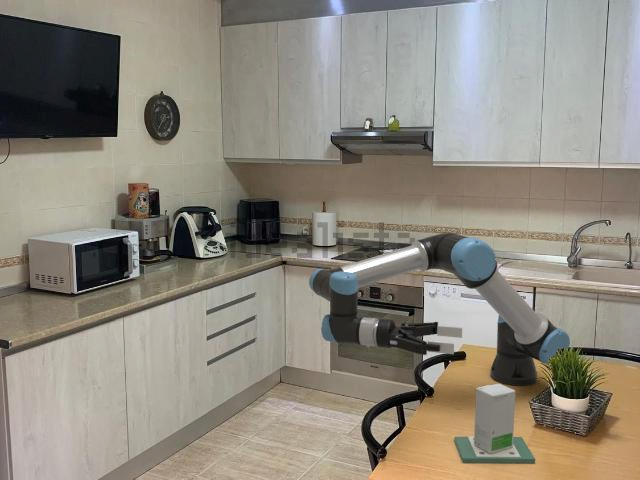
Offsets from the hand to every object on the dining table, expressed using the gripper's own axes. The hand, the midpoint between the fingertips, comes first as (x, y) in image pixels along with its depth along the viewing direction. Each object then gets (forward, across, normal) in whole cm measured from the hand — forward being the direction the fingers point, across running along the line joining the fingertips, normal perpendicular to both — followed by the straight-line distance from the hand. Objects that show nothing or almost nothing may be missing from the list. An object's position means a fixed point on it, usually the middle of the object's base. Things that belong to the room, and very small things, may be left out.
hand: (458, 340), depth 168 cm
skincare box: (+10, 0, -28) cm, 29 cm away
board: (+10, 0, -29) cm, 31 cm away
